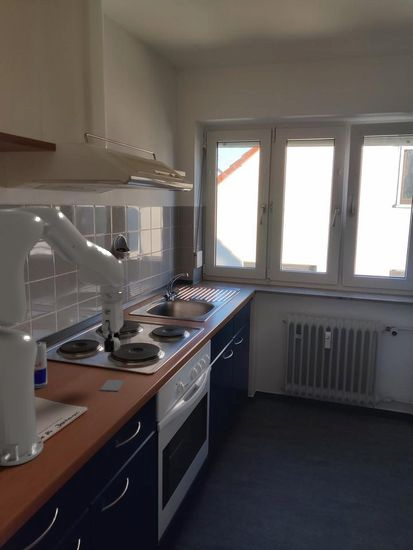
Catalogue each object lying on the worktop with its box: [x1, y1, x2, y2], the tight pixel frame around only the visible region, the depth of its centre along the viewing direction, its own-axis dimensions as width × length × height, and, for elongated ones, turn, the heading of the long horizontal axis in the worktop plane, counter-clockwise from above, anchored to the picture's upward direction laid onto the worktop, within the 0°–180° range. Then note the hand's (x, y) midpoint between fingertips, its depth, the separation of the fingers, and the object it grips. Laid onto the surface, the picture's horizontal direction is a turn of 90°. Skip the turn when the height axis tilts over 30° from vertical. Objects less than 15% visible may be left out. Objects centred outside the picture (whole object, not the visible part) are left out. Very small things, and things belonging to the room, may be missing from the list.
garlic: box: [113, 337, 121, 352], centre depth 145 cm, size 6×5×5 cm
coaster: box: [100, 379, 125, 392], centre depth 147 cm, size 8×6×1 cm
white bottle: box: [34, 341, 48, 389], centre depth 145 cm, size 5×5×15 cm
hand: (112, 348), depth 145 cm, fingers closed on garlic, 6 cm apart
